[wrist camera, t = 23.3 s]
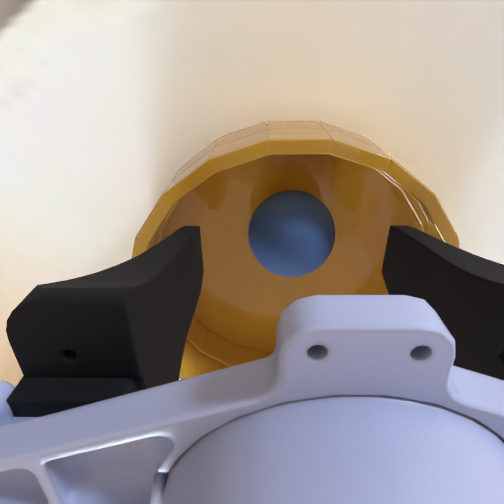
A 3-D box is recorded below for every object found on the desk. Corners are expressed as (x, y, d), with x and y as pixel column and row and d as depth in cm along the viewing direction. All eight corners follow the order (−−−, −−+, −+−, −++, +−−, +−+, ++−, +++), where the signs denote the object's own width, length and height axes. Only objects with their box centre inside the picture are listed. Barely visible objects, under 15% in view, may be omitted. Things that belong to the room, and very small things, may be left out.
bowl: (451, 117, 15) (509, 137, 12) (395, 355, 22) (421, 414, 18) (134, 119, 16) (97, 140, 12) (170, 353, 22) (153, 411, 18)
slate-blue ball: (331, 178, 16) (348, 209, 13) (324, 250, 18) (338, 294, 15) (248, 178, 16) (246, 210, 13) (249, 251, 18) (247, 294, 15)
